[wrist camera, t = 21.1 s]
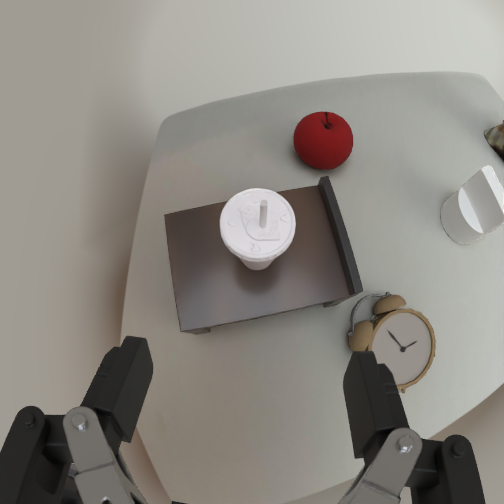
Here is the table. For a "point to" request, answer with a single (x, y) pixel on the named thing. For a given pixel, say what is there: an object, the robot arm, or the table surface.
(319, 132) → the apple
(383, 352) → the alarm clock
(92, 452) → the robot arm
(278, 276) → the shelf
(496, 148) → the plaid figurine
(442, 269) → the table surface
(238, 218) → the smoothie
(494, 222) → the cylinder with rectangular tab
